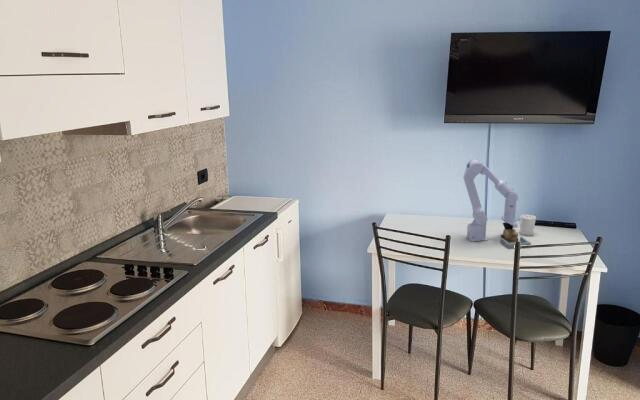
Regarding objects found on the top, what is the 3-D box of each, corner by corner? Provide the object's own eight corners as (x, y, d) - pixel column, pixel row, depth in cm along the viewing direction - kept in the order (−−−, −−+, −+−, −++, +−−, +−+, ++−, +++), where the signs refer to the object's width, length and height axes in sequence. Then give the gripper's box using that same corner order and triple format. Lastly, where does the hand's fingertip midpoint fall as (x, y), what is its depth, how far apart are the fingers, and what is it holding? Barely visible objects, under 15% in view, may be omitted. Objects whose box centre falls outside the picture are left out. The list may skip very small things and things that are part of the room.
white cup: (525, 236, 272) (526, 219, 269) (515, 232, 279) (517, 215, 276) (537, 235, 274) (538, 218, 271) (527, 230, 281) (529, 213, 278)
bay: (508, 248, 256) (508, 244, 255) (500, 242, 265) (500, 238, 264) (530, 247, 257) (530, 243, 256) (521, 241, 266) (522, 236, 265)
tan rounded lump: (503, 242, 266) (505, 234, 263) (500, 236, 270) (502, 229, 267) (517, 241, 266) (519, 234, 263) (514, 236, 270) (516, 228, 267)
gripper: (523, 215, 258) (521, 239, 262) (510, 207, 272) (509, 230, 276) (510, 216, 258) (509, 241, 262) (498, 208, 272) (497, 231, 276)
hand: (508, 235), depth 269 cm, fingers closed, pressing on tan rounded lump
